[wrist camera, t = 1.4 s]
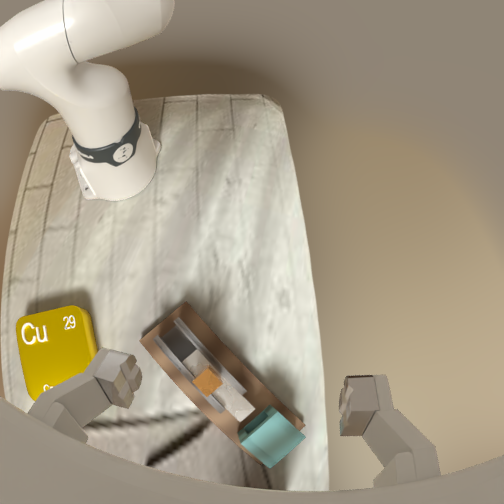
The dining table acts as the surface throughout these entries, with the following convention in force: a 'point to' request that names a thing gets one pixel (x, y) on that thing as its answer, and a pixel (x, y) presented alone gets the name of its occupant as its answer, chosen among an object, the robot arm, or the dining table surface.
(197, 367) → the post on white base
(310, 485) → the dining table surface
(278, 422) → the slide bolt latch board
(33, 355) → the element tile
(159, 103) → the dining table surface
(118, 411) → the dining table surface
